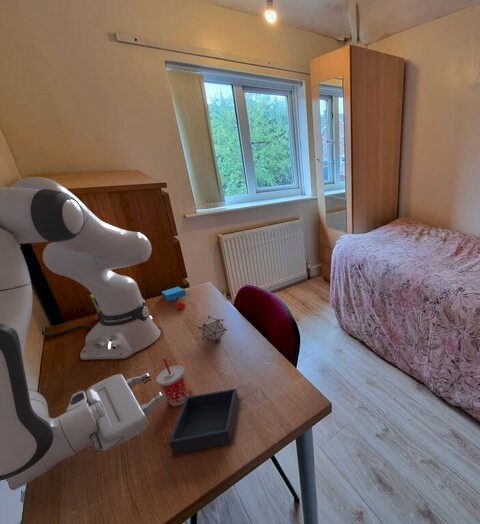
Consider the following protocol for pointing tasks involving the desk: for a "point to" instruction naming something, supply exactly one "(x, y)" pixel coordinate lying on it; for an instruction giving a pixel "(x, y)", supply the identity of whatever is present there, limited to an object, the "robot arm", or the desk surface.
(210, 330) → the game die
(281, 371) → the desk surface
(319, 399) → the desk surface
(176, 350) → the desk surface
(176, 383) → the beverage cup
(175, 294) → the lever
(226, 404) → the tote
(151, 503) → the desk surface
